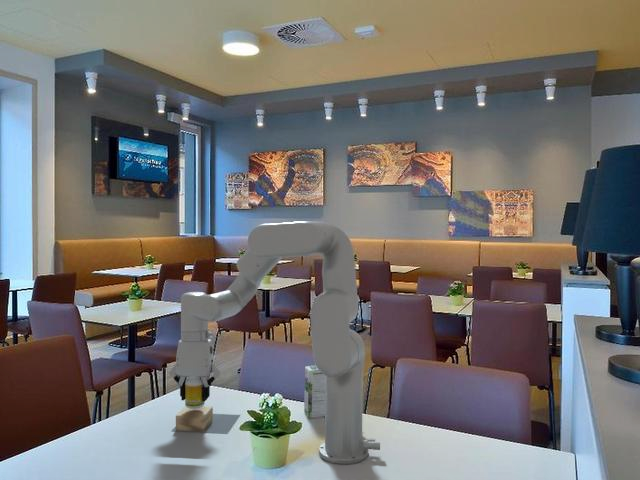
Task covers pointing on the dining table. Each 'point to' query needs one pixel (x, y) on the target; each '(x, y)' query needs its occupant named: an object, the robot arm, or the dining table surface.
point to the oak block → (194, 418)
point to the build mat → (217, 424)
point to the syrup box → (314, 392)
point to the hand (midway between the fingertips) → (194, 398)
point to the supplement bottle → (193, 392)
